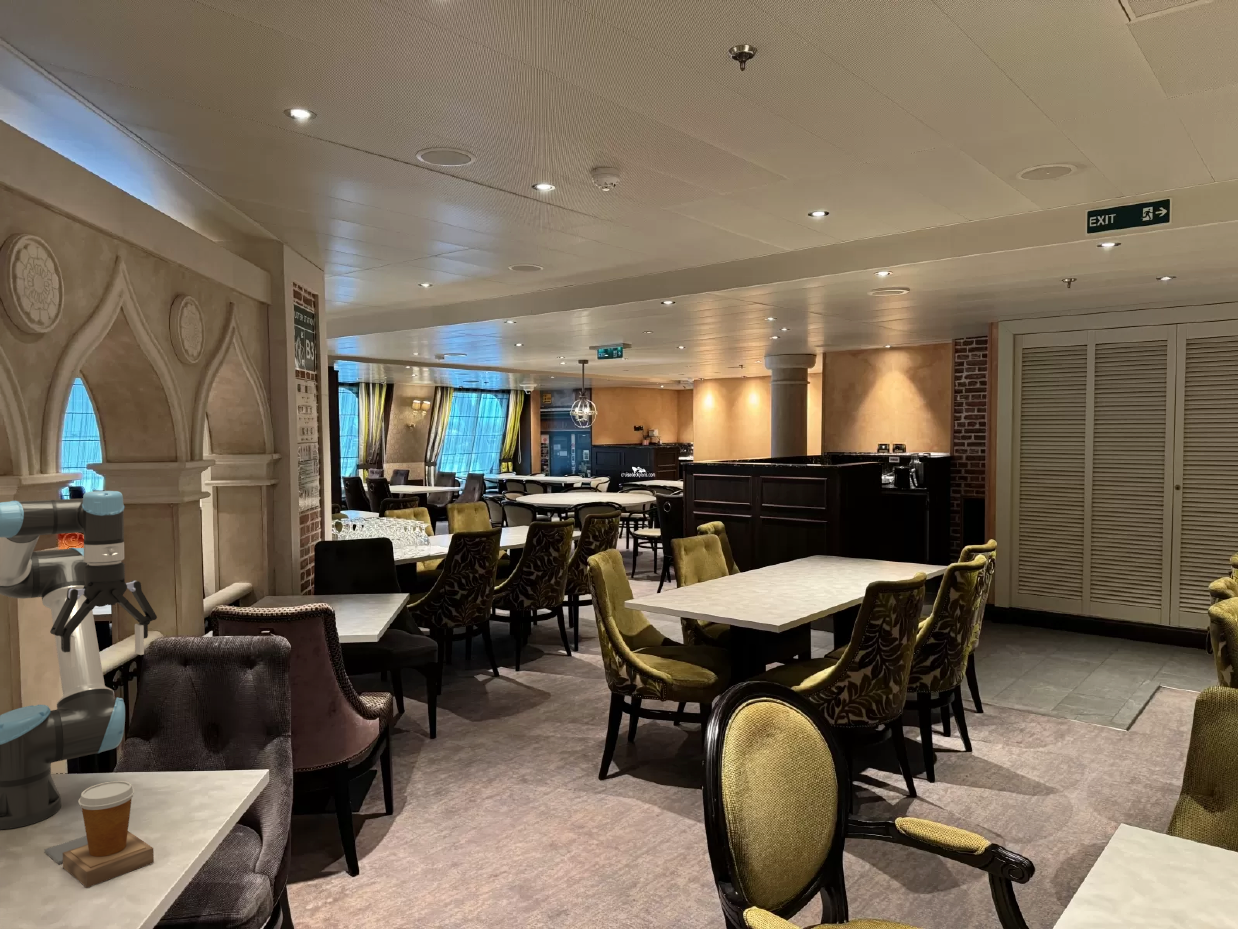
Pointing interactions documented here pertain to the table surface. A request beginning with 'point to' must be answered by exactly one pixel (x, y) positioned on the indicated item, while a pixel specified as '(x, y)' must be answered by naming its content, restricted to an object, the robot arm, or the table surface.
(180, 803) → the table surface
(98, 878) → the walnut base
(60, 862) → the slate coaster
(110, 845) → the disposable coffee cup
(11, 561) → the robot arm
